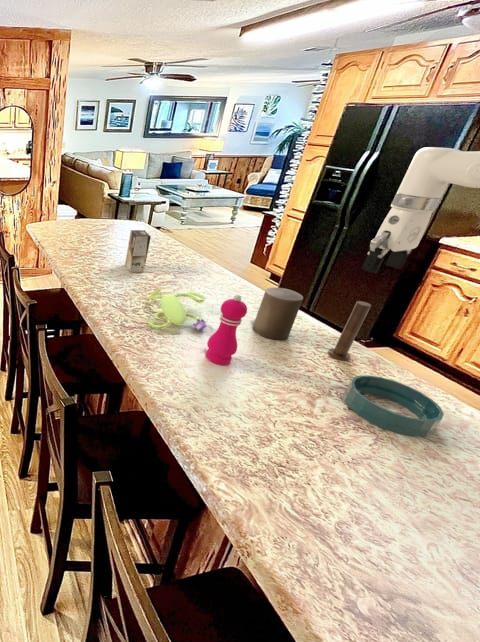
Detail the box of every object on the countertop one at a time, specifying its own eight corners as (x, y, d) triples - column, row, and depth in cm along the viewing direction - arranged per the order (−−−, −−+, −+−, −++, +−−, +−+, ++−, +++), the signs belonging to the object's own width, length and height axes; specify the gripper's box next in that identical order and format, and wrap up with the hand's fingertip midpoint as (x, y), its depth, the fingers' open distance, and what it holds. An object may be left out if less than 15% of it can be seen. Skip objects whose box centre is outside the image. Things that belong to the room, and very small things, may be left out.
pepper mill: (210, 348, 113) (229, 287, 105) (236, 360, 108) (258, 296, 100) (198, 357, 109) (217, 294, 100) (225, 369, 104) (247, 304, 95)
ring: (366, 389, 98) (376, 370, 95) (444, 432, 85) (459, 411, 82) (325, 402, 93) (335, 382, 90) (402, 450, 80) (416, 428, 78)
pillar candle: (286, 344, 116) (304, 299, 110) (249, 333, 122) (265, 290, 115) (288, 331, 123) (306, 288, 117) (253, 321, 129) (268, 280, 122)
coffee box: (144, 272, 166) (151, 236, 159) (129, 271, 166) (136, 236, 159) (138, 264, 174) (145, 230, 167) (124, 264, 174) (130, 229, 167)
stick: (334, 349, 114) (359, 298, 107) (353, 359, 110) (380, 306, 102) (323, 352, 113) (347, 300, 105) (342, 362, 108) (368, 309, 101)
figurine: (200, 303, 140) (204, 289, 137) (209, 340, 117) (214, 324, 115) (147, 295, 145) (150, 281, 143) (145, 328, 123) (149, 313, 120)
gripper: (411, 208, 86) (376, 278, 94) (455, 204, 92) (419, 270, 99) (373, 201, 93) (343, 267, 100) (416, 197, 98) (385, 260, 106)
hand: (381, 268), depth 100 cm, fingers open, 9 cm apart
